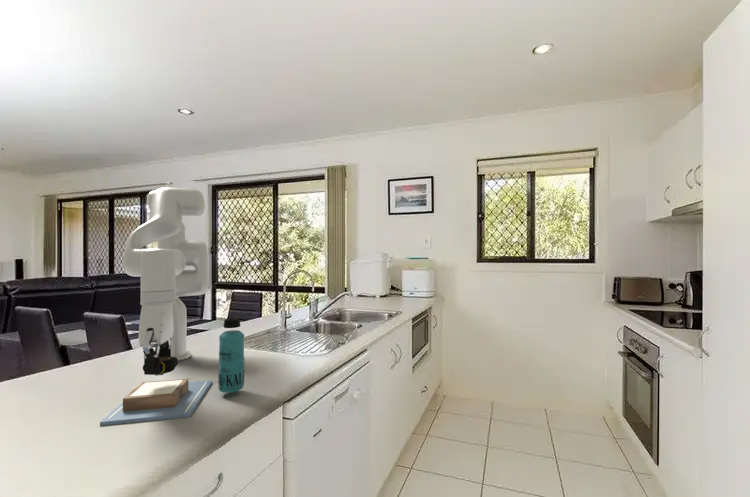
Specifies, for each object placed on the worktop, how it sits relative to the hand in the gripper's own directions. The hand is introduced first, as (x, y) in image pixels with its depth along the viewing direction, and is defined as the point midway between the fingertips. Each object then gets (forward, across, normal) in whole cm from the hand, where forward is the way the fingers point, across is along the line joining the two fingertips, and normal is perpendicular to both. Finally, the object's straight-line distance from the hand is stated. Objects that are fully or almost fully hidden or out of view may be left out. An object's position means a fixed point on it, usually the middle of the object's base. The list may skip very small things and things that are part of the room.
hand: (158, 368), depth 89 cm
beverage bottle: (+9, -2, +17) cm, 19 cm away
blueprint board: (+9, -1, +1) cm, 9 cm away
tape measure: (+2, -1, 0) cm, 2 cm away
